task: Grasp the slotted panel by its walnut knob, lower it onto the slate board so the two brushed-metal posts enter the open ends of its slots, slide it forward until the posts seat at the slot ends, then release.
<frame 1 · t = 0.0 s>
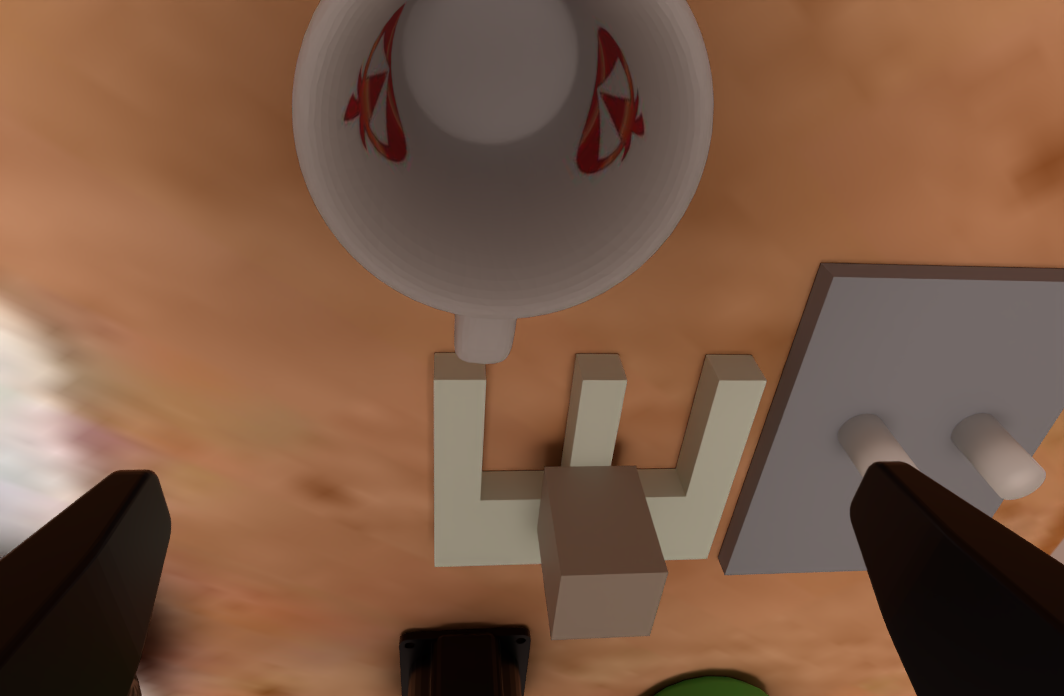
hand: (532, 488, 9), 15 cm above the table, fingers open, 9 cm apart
cup: (485, 98, 21), on the table
panel: (581, 452, 29), on the table
slate board: (895, 432, 30), on the table
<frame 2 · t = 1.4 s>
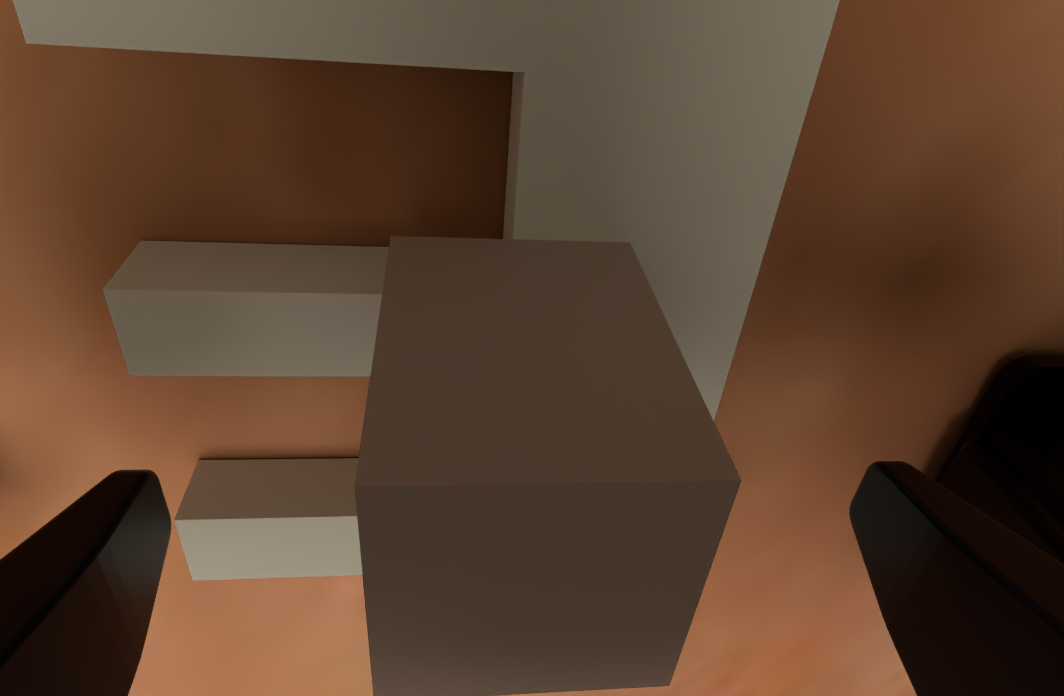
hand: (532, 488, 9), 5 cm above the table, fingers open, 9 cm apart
panel: (444, 288, 13), on the table
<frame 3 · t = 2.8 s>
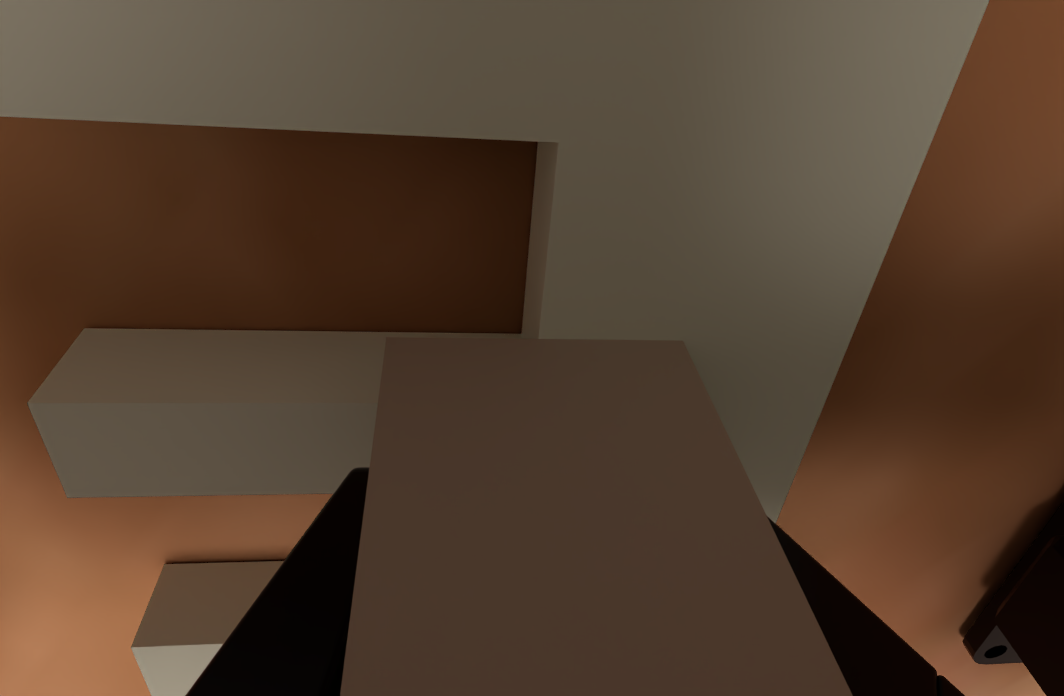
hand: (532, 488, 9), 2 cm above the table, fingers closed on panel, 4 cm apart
panel: (452, 376, 11), on the table, touching gripper
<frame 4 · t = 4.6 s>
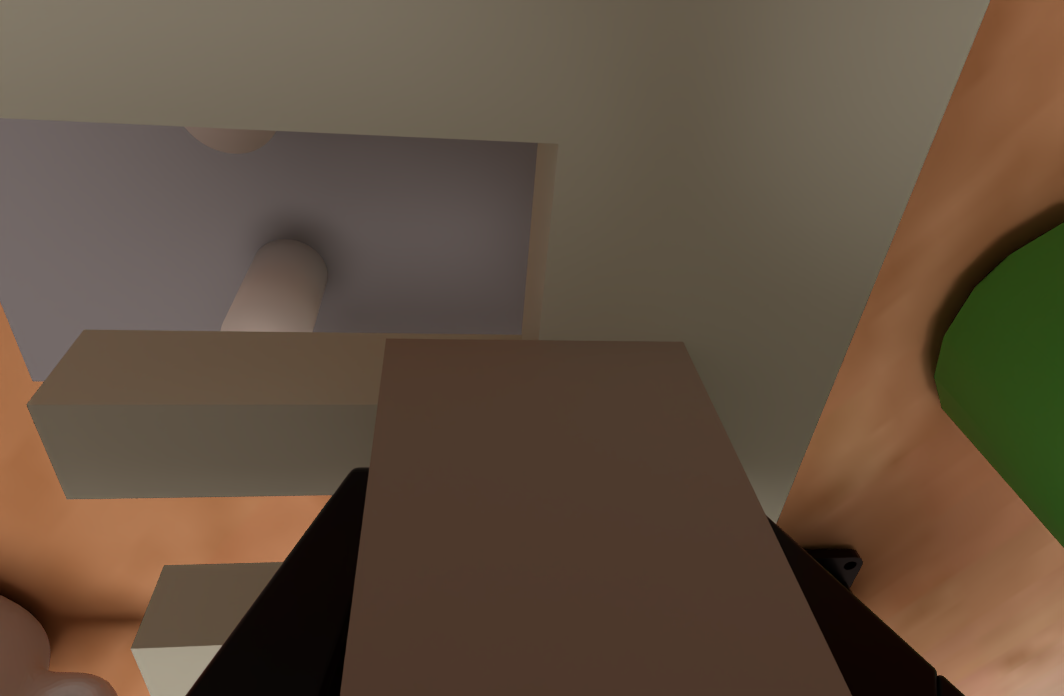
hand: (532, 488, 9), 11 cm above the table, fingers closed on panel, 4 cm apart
bottle: (1054, 313, 22), on the table
cup: (7, 617, 26), on the table
panel: (452, 377, 11), point 8 cm above the table, touching gripper
slate board: (328, 162, 17), on the table
when the fingers open (4 cm above the table, at t = 6.6 s): panel stays where it is, resting on slate board.
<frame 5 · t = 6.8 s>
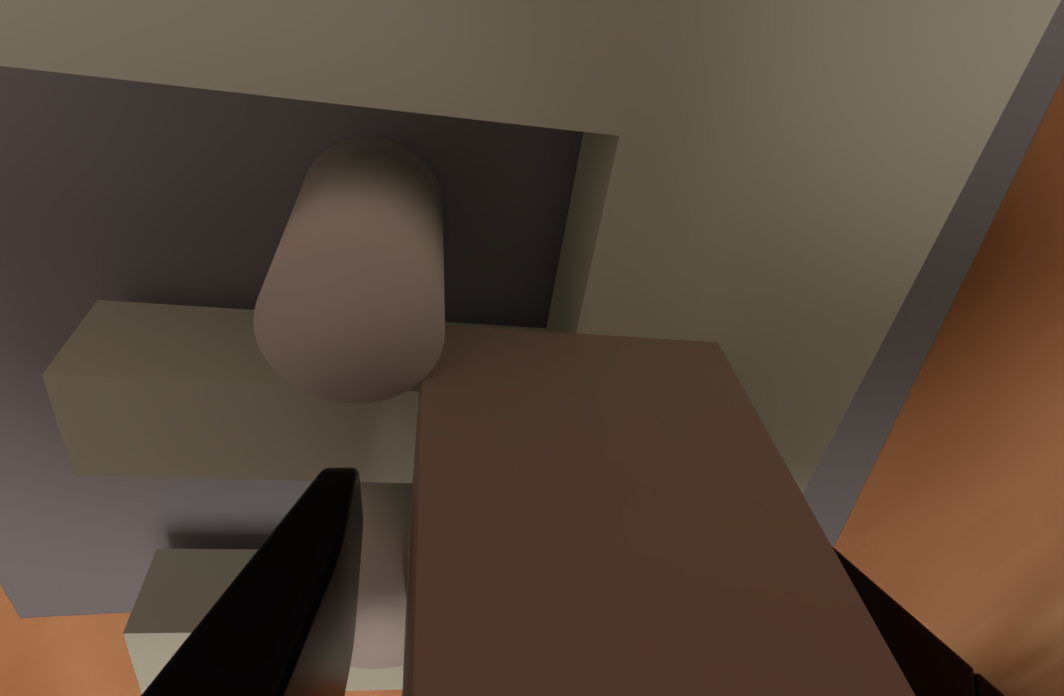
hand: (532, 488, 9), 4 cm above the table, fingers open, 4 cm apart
panel: (472, 368, 11), point 1 cm above the table, touching gripper, slate board
slate board: (448, 321, 12), on the table
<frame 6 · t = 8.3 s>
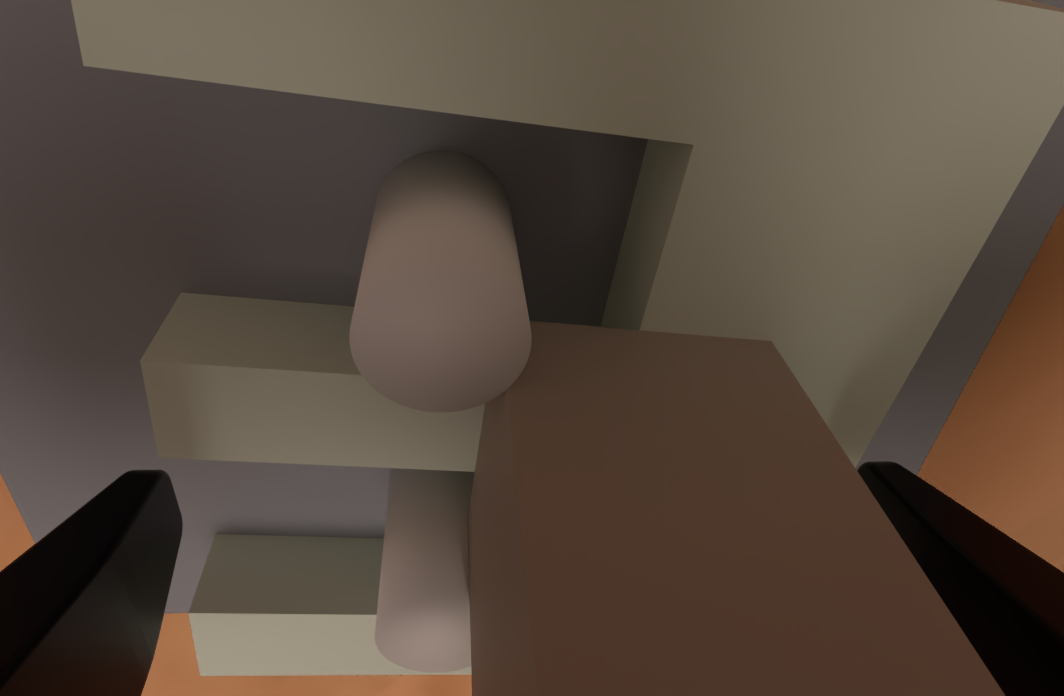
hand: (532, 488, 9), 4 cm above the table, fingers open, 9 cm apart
panel: (528, 364, 11), point 1 cm above the table, touching slate board
slate board: (502, 330, 12), on the table
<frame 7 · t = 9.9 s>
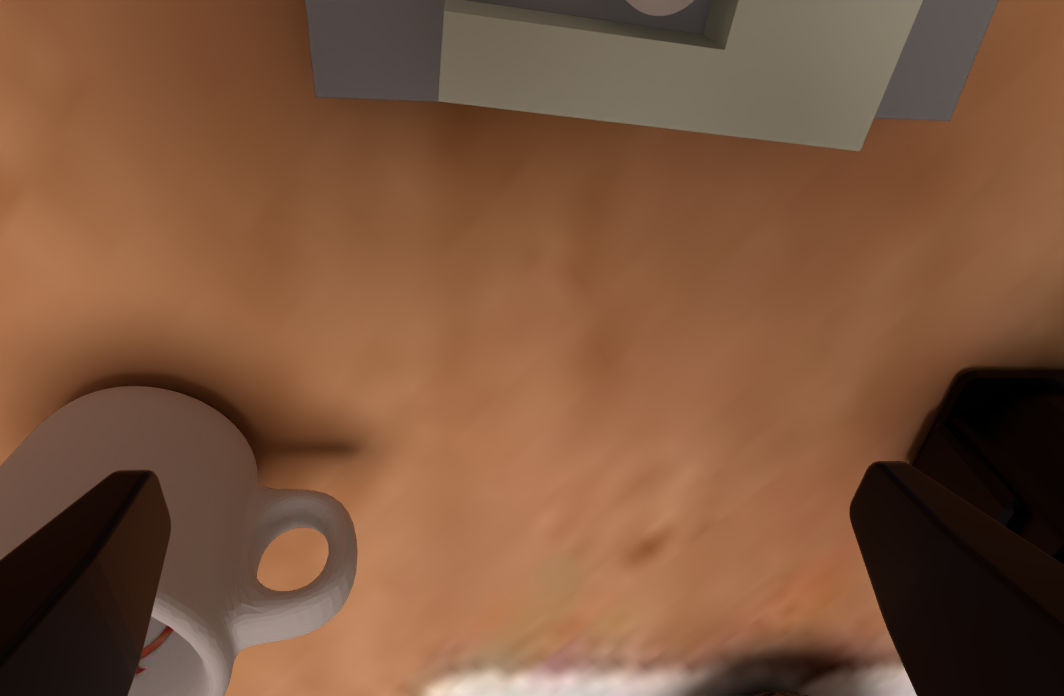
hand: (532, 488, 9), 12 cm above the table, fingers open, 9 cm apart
cup: (208, 444, 24), on the table
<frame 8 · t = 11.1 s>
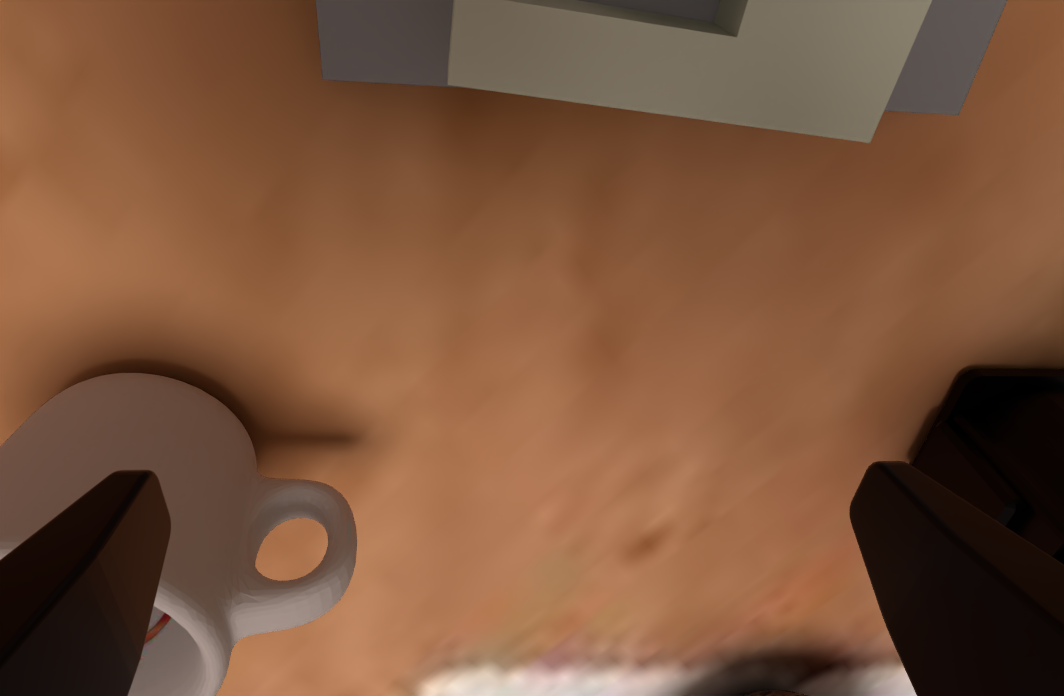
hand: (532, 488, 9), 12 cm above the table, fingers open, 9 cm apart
cup: (206, 434, 23), on the table
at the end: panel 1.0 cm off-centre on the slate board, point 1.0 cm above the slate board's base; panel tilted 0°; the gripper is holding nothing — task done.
